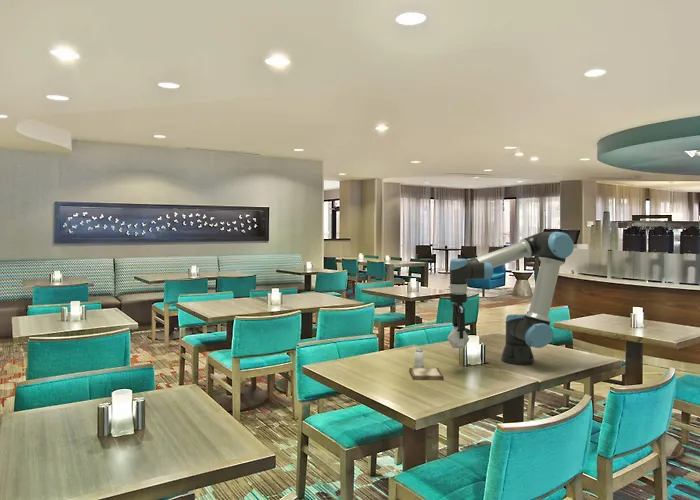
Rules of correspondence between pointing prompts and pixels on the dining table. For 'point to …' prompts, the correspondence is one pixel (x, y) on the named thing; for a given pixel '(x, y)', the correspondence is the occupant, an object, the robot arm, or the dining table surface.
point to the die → (454, 339)
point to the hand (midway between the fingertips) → (458, 343)
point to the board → (426, 374)
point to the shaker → (419, 358)
